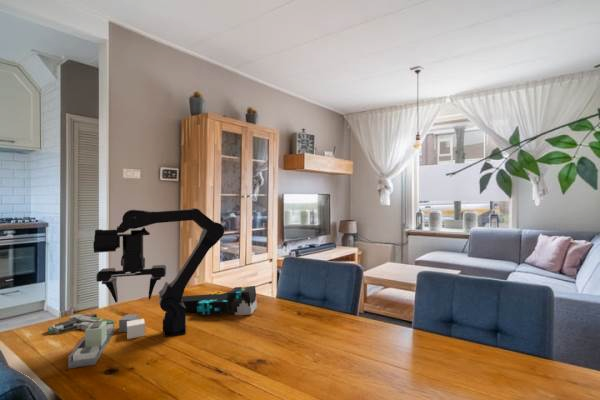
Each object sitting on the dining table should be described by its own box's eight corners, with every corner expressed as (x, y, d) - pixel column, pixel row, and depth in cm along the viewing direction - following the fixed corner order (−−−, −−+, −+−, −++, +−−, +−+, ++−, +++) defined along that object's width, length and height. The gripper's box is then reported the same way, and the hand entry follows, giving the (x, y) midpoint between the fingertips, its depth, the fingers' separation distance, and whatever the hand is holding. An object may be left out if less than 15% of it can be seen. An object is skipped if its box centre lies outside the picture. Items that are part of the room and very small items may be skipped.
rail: (114, 332, 107) (114, 321, 107) (95, 364, 86) (94, 351, 86) (93, 334, 105) (93, 324, 105) (68, 368, 84) (68, 355, 84)
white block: (138, 325, 113) (138, 314, 113) (131, 331, 108) (131, 319, 108) (126, 326, 113) (126, 314, 113) (119, 332, 108) (119, 319, 108)
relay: (143, 330, 109) (143, 318, 109) (145, 336, 104) (144, 323, 104) (126, 333, 106) (126, 321, 106) (127, 339, 102) (127, 326, 102)
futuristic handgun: (81, 334, 100) (123, 316, 114) (40, 326, 107) (84, 310, 121) (81, 343, 100) (123, 324, 115) (40, 334, 107) (85, 317, 121)
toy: (187, 288, 138) (257, 283, 134) (189, 308, 137) (259, 304, 133) (167, 299, 122) (246, 294, 118) (169, 321, 122) (248, 317, 118)
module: (106, 337, 99) (106, 319, 99) (101, 346, 94) (101, 327, 93) (91, 339, 98) (91, 321, 98) (85, 348, 92) (85, 329, 92)
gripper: (167, 245, 112) (167, 291, 112) (105, 248, 106) (105, 296, 106) (164, 250, 101) (165, 300, 101) (95, 253, 96) (96, 306, 96)
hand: (133, 300), depth 101 cm, fingers open, 9 cm apart
